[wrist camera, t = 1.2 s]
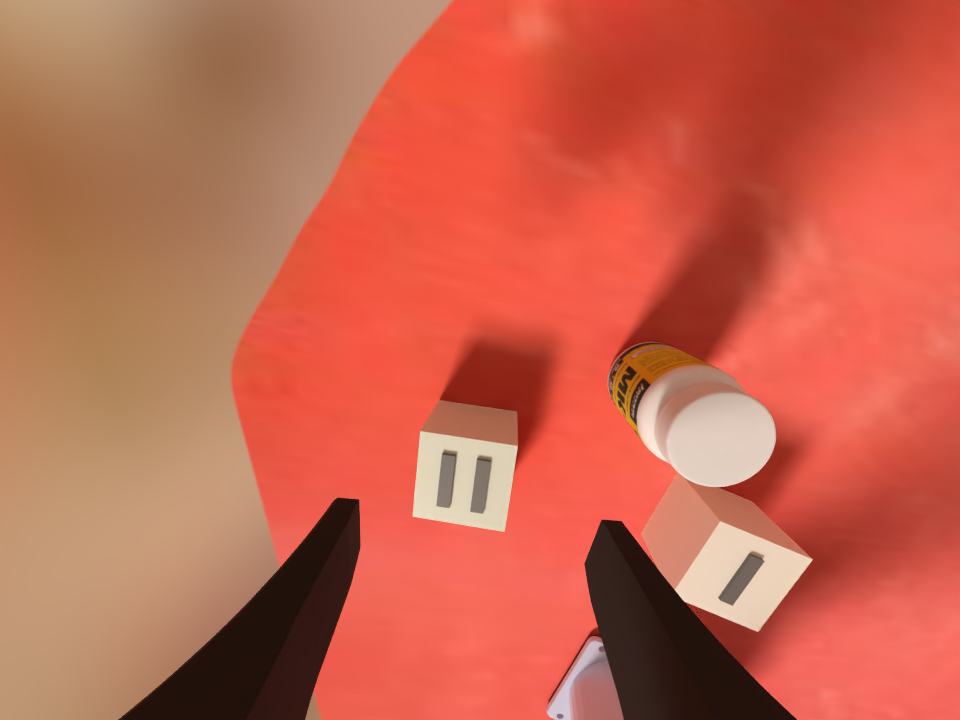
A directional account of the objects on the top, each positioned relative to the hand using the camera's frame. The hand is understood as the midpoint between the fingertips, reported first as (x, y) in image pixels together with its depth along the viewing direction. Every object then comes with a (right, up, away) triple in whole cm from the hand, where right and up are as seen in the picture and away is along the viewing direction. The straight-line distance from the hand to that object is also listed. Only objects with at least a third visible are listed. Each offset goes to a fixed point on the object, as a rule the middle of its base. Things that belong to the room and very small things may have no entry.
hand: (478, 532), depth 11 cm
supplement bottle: (+10, +4, +11) cm, 16 cm away
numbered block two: (0, 0, +13) cm, 13 cm away
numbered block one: (+14, -5, +13) cm, 20 cm away
